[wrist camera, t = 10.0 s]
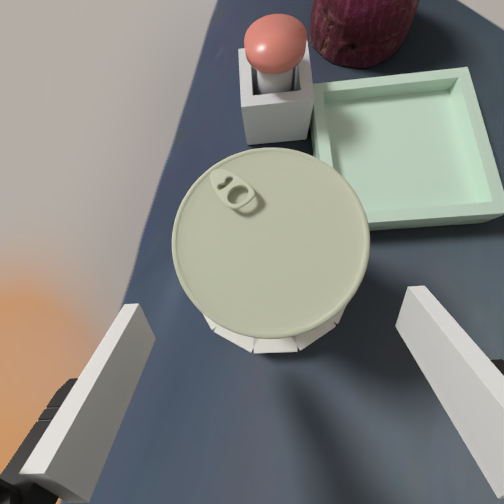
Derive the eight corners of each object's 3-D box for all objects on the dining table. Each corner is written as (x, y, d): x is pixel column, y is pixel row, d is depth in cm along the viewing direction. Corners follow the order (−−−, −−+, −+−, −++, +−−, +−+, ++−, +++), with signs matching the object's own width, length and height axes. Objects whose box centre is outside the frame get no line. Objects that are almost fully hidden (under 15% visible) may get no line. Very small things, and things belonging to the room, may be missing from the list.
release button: (296, 83, 25) (303, 10, 19) (300, 123, 24) (310, 59, 18) (250, 88, 25) (242, 18, 19) (252, 128, 24) (245, 67, 18)
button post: (300, 89, 26) (307, 40, 21) (306, 139, 25) (314, 99, 20) (244, 95, 27) (238, 49, 22) (247, 145, 25) (241, 107, 20)
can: (276, 202, 24) (280, 104, 12) (343, 276, 22) (425, 244, 10) (200, 263, 23) (127, 220, 11) (263, 344, 21) (251, 393, 10)
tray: (448, 90, 25) (467, 66, 22) (483, 222, 22) (509, 212, 19) (307, 105, 26) (311, 84, 23) (322, 234, 23) (328, 225, 20)
